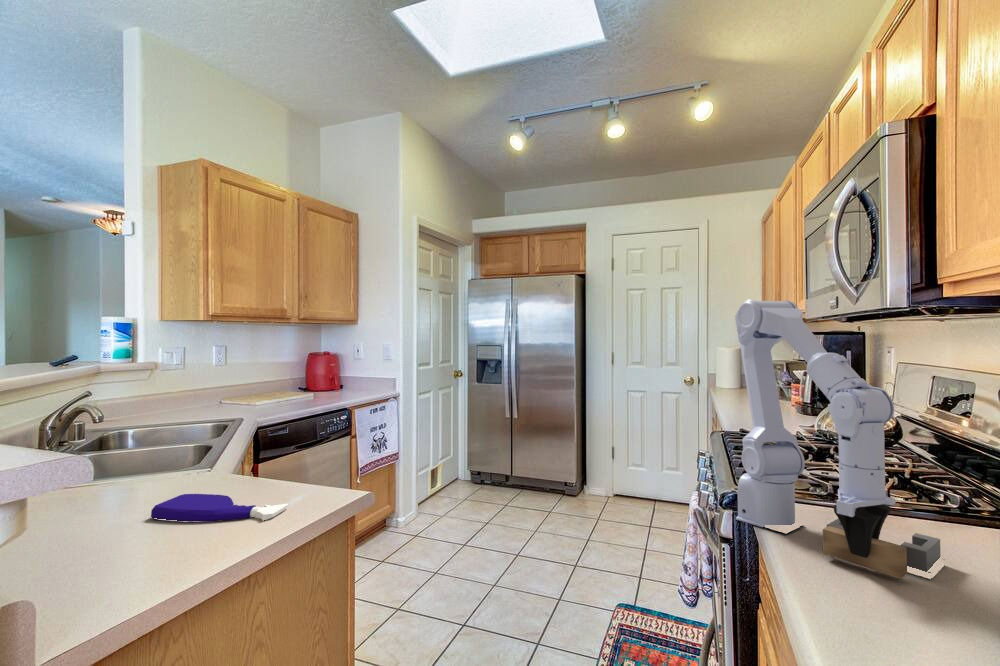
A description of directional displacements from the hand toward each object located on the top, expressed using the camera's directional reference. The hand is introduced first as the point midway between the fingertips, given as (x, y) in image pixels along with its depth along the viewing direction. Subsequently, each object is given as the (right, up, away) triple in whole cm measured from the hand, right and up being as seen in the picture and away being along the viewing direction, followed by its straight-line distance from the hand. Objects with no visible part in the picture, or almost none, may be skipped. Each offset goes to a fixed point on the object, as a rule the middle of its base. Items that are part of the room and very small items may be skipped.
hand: (862, 552), depth 73 cm
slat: (0, -2, 0) cm, 2 cm away
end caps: (+7, -3, +5) cm, 9 cm away
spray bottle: (-114, -4, +24) cm, 117 cm away
